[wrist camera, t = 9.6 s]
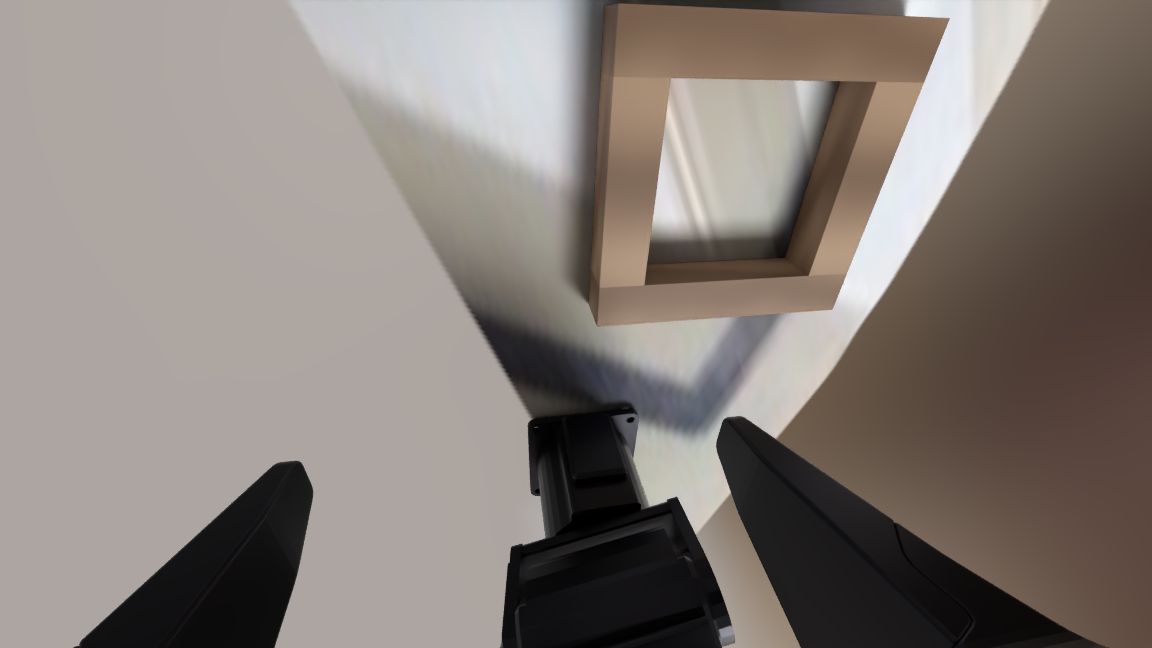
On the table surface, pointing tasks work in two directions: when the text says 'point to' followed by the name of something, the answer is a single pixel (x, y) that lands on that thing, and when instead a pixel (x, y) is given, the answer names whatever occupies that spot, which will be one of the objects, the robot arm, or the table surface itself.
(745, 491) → the robot arm
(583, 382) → the table surface
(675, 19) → the socket block
